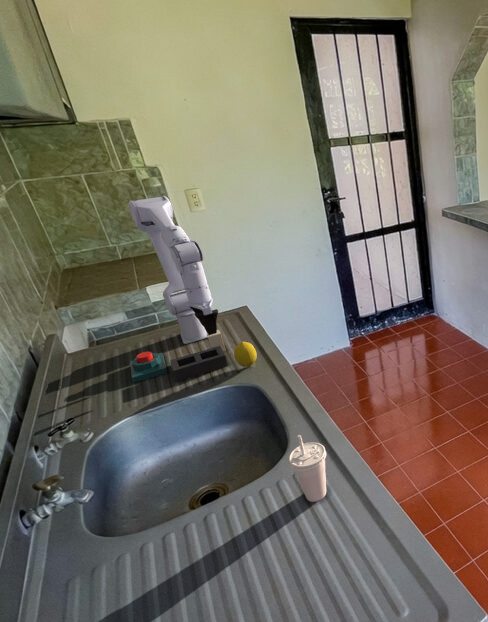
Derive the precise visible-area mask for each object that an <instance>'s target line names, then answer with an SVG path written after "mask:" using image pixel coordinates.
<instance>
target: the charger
mask: <svg viewBox="0 0 488 622" xmlns="http://www.w3.org/2000/svg"><path fill="white" fill-rule="evenodd" d="M207 337H208V338H207V340H208V343H209V347H210V349H211V348H214V347H217V346H221V348H222V350H223V352H226V345H225V342H224V340H223V336H222V333H221V331H220V330H219V329H217V333H215V334H212V335H208V333H207Z"/></svg>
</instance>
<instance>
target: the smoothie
mask: <svg viewBox="0 0 488 622" xmlns="http://www.w3.org/2000/svg"><path fill="white" fill-rule="evenodd" d="M297 440H298V444H299V445H298V446H297V447H295V448H294V449H293V450H292V451H291V452H290V453H289V456H288V463H289V466H290V468H291V469H292V470H293V471H294V474H295V476H296V478H297V481H298V483H299V484H300V487H301V490H302V492H303V494H304V496H305V499H306V500H307V501H308V502H312V503H315V502H320V501H321V500H322V499H324V498H325V496H326V495H327V478H326V476H327V475H326V457H327V451H326V448H325V446H324V445H323V444H321V443H319V442H312V441H311V442H306V443H304V442H303V438H302V435H301V434H298V435H297Z"/></svg>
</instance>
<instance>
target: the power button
mask: <svg viewBox="0 0 488 622" xmlns="http://www.w3.org/2000/svg"><path fill="white" fill-rule="evenodd" d="M152 353H153V352H152V351H142V352H140V353H138V354H137V355H136V356H135V358H137V360H138V362H139V363H144V362H148V361H150V360H152V359H153V356H152Z"/></svg>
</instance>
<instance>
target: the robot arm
mask: <svg viewBox="0 0 488 622" xmlns="http://www.w3.org/2000/svg"><path fill="white" fill-rule="evenodd" d="M127 205H128V210H129V213H130V216H131V218H132V220H133V222H134V224H135V227H136V228H137V229H138V231H140V232H145V233H146V234H147V236H148V237H149V239H150V241H151V243H152V246H153V248H154V250H155V253H156V255H157V257H158V260H159V263H160V265H161V267H162V270H163V272H164V275H165V278H166V280H167V281H168V285H166V287H165V288H164V289H163V291H162V297H163V299H164V304H165V307H166V309H167V311H168V313H169V314H170V315H172V316H175V317H176V320H177V324H178V326H179V330H180V333H179V334H180V337H181V340H182V343H183V345H188V344H191V343H196V342H199V341H201V340H206V339H208V337H207V333H208V335H212V334H215V333H217V330H218V324H217V319H218V315H219V309H217V308H216V309H212V305H213V303H214V298H213V296H212V294H211V290H210V287H209V283H208V280H207V275H206V273H205V270H204V267H203V263H202V262H203V261H204V254H203V251H202V249H201V247H200V244H199V242H197V241H196V240H194V239H190V237H189V236H188V234H187V233H186V232H185V230H184V229H183V228H182V227H181V226H178V225H175V223H174V209H173V206H172V202H171V201H170V199H169V197H167V196H166V195H161V196H158V197H150V198H144V199H136V200H129V202H128V204H127Z"/></svg>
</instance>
